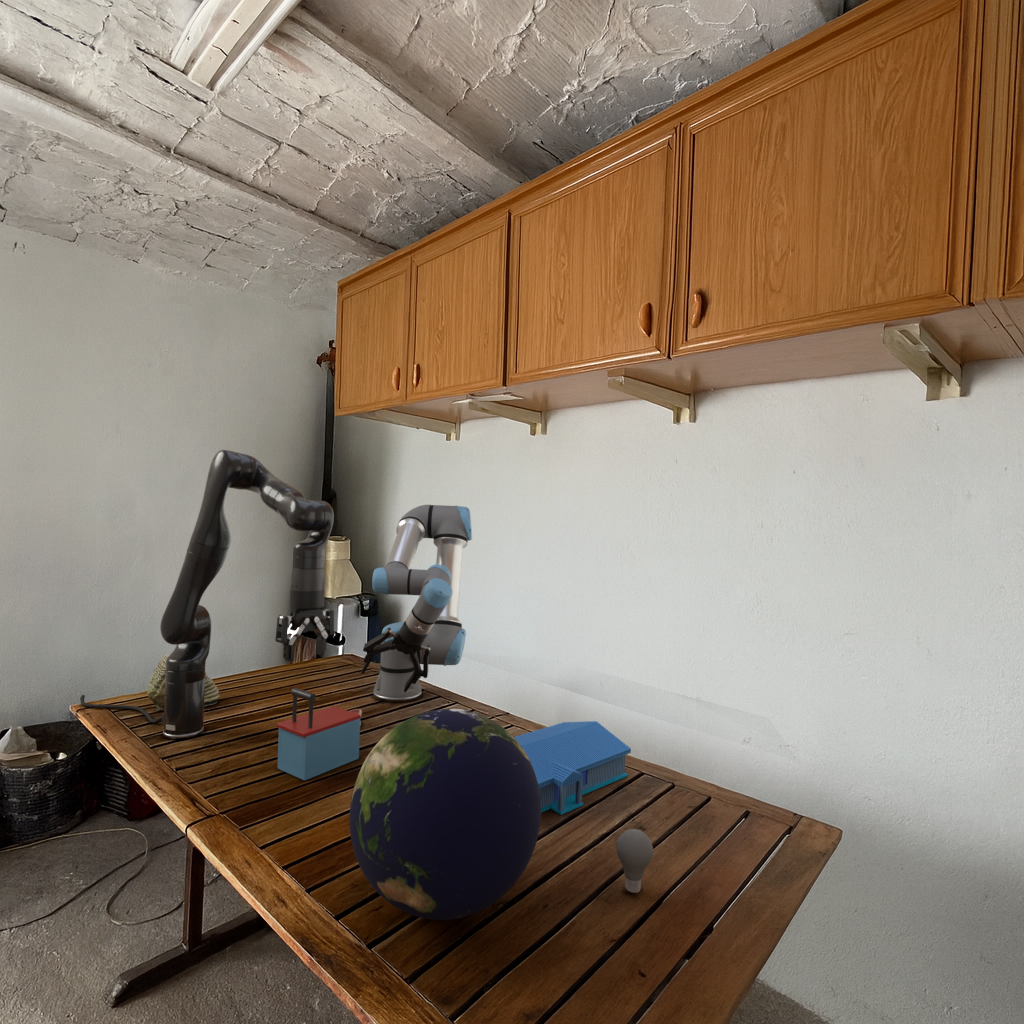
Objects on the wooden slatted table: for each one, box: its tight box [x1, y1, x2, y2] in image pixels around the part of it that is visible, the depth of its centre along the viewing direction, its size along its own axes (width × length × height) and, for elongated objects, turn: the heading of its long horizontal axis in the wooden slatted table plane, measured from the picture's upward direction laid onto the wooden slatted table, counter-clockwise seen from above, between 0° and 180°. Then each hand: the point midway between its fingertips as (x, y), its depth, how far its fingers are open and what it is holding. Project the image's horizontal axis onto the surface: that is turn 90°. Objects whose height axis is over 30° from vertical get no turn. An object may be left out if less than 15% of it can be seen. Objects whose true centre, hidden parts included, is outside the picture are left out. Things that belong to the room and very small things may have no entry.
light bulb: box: [615, 828, 654, 894], centre depth 106 cm, size 6×6×10 cm
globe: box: [349, 708, 542, 921], centre depth 100 cm, size 30×30×30 cm
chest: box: [277, 717, 361, 781], centre depth 150 cm, size 16×10×10 cm, turn 146°
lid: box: [276, 687, 361, 737], centre depth 150 cm, size 16×10×9 cm, turn 146°
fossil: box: [147, 654, 221, 712], centre depth 185 cm, size 9×18×15 cm, turn 132°
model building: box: [513, 720, 632, 816], centre depth 144 cm, size 39×24×10 cm, turn 132°
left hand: (304, 657), depth 145 cm, fingers open, 8 cm apart
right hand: (384, 679), depth 185 cm, fingers open, 13 cm apart
